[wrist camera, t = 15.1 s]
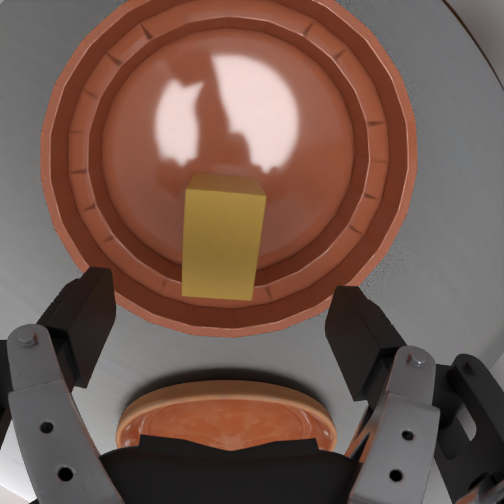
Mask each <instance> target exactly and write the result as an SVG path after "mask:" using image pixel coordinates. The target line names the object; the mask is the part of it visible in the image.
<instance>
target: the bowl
mask: <svg viewBox="0 0 504 504" xmlns="http://www.w3.org/2000/svg"><path fill="white" fill-rule="evenodd" d="M415 121H416V120H415V117H414V113H413V110H412V107H411V103H410V100H409V97H408V94H407V91H406V88H405V85H404V82H403V79H402V77H401V75H400V73H399V71H398V70H397V68H396V67H395V65H394V63H393V62H392V60H391V59H390V57H389V56H388V54H387V53H386V51H385V50H384V48H383V47H382V45H381V44H380V43H379V41H378V40H377V38H376V37H375V36H374V34H372V32H371V31H370V30H369V29H368V28H367V27H366V26H365V25H363V24H362V23H361V22H360V21H359V20H358V19H357V18H355V17H354V16H353V15H352V14H351V13H349V12H348V11H347V10H346V9H345V8H343V7H342V6H341V5H340V4H338V3H337V2H336V1H334V0H128V1H127V2H125V3H124V4H122V5H120V6H119V7H118V8H117V9H116V10H114V11H113V12H112V13H111V14H110V15H109V16H107V17H106V18H105V19H104V20H103V21H102V22H101V23H100V24H98V25H97V26H96V27H95V28H94V29H93V30H92V31H91V32H90V33H89V34H88V35H87V36H86V37H85V38H84V39H83V40H82V41H81V43H80V44H79V46H78V47H77V49H76V50H75V52H74V53H73V55H72V56H71V58H70V59H69V61H68V63H67V64H66V66H65V68H64V69H63V71H62V73H61V74H60V76H59V78H58V80H57V81H56V83H55V85H54V88H53V91H52V94H51V98H50V101H49V104H48V108H47V111H46V115H45V119H44V123H43V127H42V131H41V133H42V134H41V182H42V188H43V191H44V195H45V199H46V202H47V206H48V210H49V213H50V216H51V220H52V223H53V226H54V227H55V231H56V232H57V234H58V236H59V238H60V239H61V241H62V243H63V244H64V246H65V248H66V249H67V251H68V253H69V254H70V256H71V258H72V259H73V261H74V262H75V264H76V266H77V267H79V269H80V270H81V271H82V272H83V273H85V272H86V271H87V269H88V268H89V267H90V266H93V267H103V268H110V269H111V271H112V275H113V285H114V294H115V302H116V303H117V304H118V305H120V306H122V307H123V308H125V309H127V310H128V311H130V312H132V313H134V314H135V315H137V316H139V317H141V318H142V319H144V320H146V321H148V322H149V321H150V323H154V324H157V325H160V326H163V327H166V328H170V329H173V330H176V331H180V332H183V333H187V334H190V335H191V334H192V335H199V336H213V337H231V338H235V337H243V336H249V335H256V334H262V333H268V332H273V331H278V330H282V329H284V328H287V327H289V326H292V325H294V324H297V323H299V322H302V321H304V320H307V319H309V318H311V317H314V316H316V315H318V314H320V313H322V312H323V311H325V310H326V309H328V308H329V307H330V305H331V301H332V298H333V294H334V291H335V289H336V287H337V286H339V285H342V286H359V285H360V284H361V283H362V282H363V281H364V279H365V278H366V277H367V276H368V275H369V274H370V273H371V272H372V270H373V269H374V268H375V267H376V266H377V265H378V263H379V262H380V261H381V260H382V259H383V258H384V256H385V255H386V254H387V252H388V250H389V248H390V247H391V245H392V243H393V241H394V239H395V237H396V235H397V233H398V231H399V229H400V227H401V225H402V223H403V221H404V219H405V217H406V215H407V214H406V213H407V212H408V208H409V204H410V200H411V196H412V192H413V187H414V183H415V178H416V173H417V169H416V168H417V138H416V123H415ZM195 173H209V174H221V175H232V176H242V177H252V178H256V179H257V180H258V182H259V184H260V186H261V187H262V189H263V191H264V193H265V194H266V196H267V198H266V205H265V212H264V219H263V226H262V233H261V240H260V247H259V254H258V261H257V268H256V275H255V282H254V288H253V295H252V300H251V301H247V300H231V299H216V298H202V297H189V296H182V251H183V226H184V207H185V191H186V188H187V186H188V185H189V183H190V181H191V179H192V177H193V176H194V174H195Z"/></svg>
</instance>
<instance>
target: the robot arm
mask: <svg viewBox="0 0 504 504" xmlns="http://www.w3.org/2000/svg"><path fill="white" fill-rule="evenodd" d="M115 317H116V302H115V294H114V285H113V275H112V271H111V269H110V268H103V267H93V266H90V267H89V268H88V269H87V271H86V272H85V273H84V274H83V276H82V277H81V278H80V279H77V278H76V279H75V280H73V281H71V282H70V283H68V284H67V285H65V286H64V288H63V289H62V290H61V291H60V293H59V295H57V297H56V298H55V299H54V302H52V303H51V304H50V306H49V307H48V308H47V310H46V311H45V312H44V314H43V315H42V316H41V318H40V319H39V320H38V322H37V323H36V324H27V325H23V326H20V327H18V328H17V329H15V330H14V331H13V332H12V333H11V334H10V335H9V337H8V339H7V340H0V449H1V446H2V443H3V441H4V438H5V435H6V432H7V430H8V427H9V425H10V422H11V419H12V420H13V424H14V429H15V433H16V436H17V440H18V444H19V447H20V451H21V454H22V457H23V461H24V464H25V467H26V470H27V473H28V475H29V478H30V481H31V484H32V486H33V489H34V491H35V494H36V496H37V499H36V500H34V501H32V502H31V503H29V504H422V502H423V498H424V494H425V491H426V487H427V483H428V479H429V475H430V470H431V465H432V460H433V456H434V458H435V461H436V464H437V466H438V468H439V470H440V473H441V476H442V478H443V481H444V483H445V486H446V488H447V490H448V493H449V496H450V499H451V501H452V504H504V392H503V390H502V389H501V387H500V386H499V385H498V383H497V382H496V380H495V379H494V378H493V376H492V375H491V373H490V372H489V371H488V369H487V368H486V367H485V365H484V364H483V363H482V362H481V361H480V360H479V359H477V358H476V357H474V356H472V355H469V354H460V355H458V356H457V357H456V358H455V360H454V362H453V363H452V365H451V366H448V365H440V364H435V361H434V359H433V357H432V356H431V355H430V354H429V353H428V352H426V351H425V350H423V349H421V348H418V347H415V346H407V344H406V343H405V342H404V340H403V339H402V337H401V336H400V335H399V333H398V332H397V330H396V329H395V328H394V326H393V325H392V324H391V322H390V321H389V319H388V318H387V317H386V315H385V314H384V313H383V311H382V310H381V308H380V307H379V306H377V305H376V304H375V303H373V302H372V301H371V300H369V299H367V298H366V296H365V295H364V294H363V292H362V291H361V290H360V288H359V287H358V286H342V285H339V286H337V287H336V289H335V291H334V294H333V298H332V301H331V305H330V308H329V311H328V315H327V318H326V322H325V334H326V338H327V340H328V342H329V344H330V347H331V349H332V351H333V354H334V356H335V358H336V360H337V363H338V365H339V367H340V370H341V372H342V374H343V377H344V379H345V382H346V384H347V386H348V389H349V391H350V393H351V396H352V398H353V401H362V400H367V401H368V403H369V404H368V406H367V407H366V409H365V411H364V413H363V416H362V418H361V421H360V423H359V425H358V428H357V430H356V432H355V434H354V437H353V439H352V441H351V443H350V445H349V447H348V449H347V451H346V453H345V455H342V454H339V453H335V452H332V451H327V450H321V449H319V448H318V444H317V440H316V438H310V439H299V440H284V441H273V442H269V443H265V444H261V445H257V446H253V447H248V448H244V449H239V450H234V451H227V450H223V449H218V448H214V447H210V446H207V445H203V444H199V443H196V442H192V441H189V440H185V439H178V438H168V437H160V436H152V435H145V434H140V440H139V445H136V446H129V447H123V448H119V449H115V450H112V451H110V452H107V453H105V454H103V455H100V453H99V452H98V450H97V448H96V446H95V444H94V442H93V440H92V438H91V436H90V434H89V432H88V430H87V428H86V426H85V424H84V422H83V420H82V417H81V415H80V413H79V411H78V408H77V406H76V404H75V401H74V399H73V396H72V394H71V392H72V390H73V388H74V386H77V387H81V388H87V385H88V383H89V380H90V378H91V375H92V373H93V370H94V368H95V366H96V363H97V361H98V358H99V356H100V354H101V351H102V349H103V347H104V344H105V342H106V340H107V338H108V335H109V333H110V331H111V329H112V326H113V324H114V322H115ZM465 407H466V408H467V410H468V411H469V413H470V415H471V416H472V418H473V420H474V422H475V424H476V428H477V430H476V435H475V437H474V438H473V439H472V441H471V442H470V440H469V438H468V437H467V434H466V433H465V431H464V429H463V427H462V425H461V423H460V421H459V420H458V418H457V417H458V416H459V414H460V413H461V412H462V410H463V409H464V408H465Z"/></svg>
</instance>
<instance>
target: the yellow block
mask: <svg viewBox="0 0 504 504" xmlns="http://www.w3.org/2000/svg"><path fill="white" fill-rule="evenodd" d="M266 198H267V196H266V194H265V193H264V191H263V189H262V187H261V186H260V184H259V182H258V180H257V179H256V178H252V177H242V176H232V175H221V174H209V173H195V174H194V176H193V177H192V179H191V181H190V183H189V185H188V186H187V188H186V191H185V207H184V226H183V251H182V296H189V297H202V298H216V299H231V300H247V301H251V300H252V295H253V288H254V282H255V275H256V268H257V261H258V254H259V247H260V240H261V233H262V226H263V219H264V212H265V205H266Z"/></svg>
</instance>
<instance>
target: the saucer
mask: <svg viewBox="0 0 504 504" xmlns="http://www.w3.org/2000/svg"><path fill="white" fill-rule="evenodd" d="M140 434H145V435H152V436H160V437H168V438H178V439H185V440H189V441H192V442H196V443H199V444H203V445H207V446H210V447H214V448H218V449H223V450H227V451H234V450H239V449H244V448H248V447H253V446H257V445H261V444H265V443H269V442H273V441H284V440H299V439H310V438H316V440H317V444H318V448H319V449H321V450H327V451H332V452H333V450H334V448H335V446H336V442H337V432H336V428H335V425H334V423H333V421H332V418H331V416H330V414H329V413H328V411H327V410H326V409H325V408H324V407H323V406H322V405H321V404H320V403H319V402H318V401H316V400H315V399H313V398H311V397H310V396H308V395H306V394H304V393H301V392H299V391H296V390H293V389H290V388H287V387H283V386H279V385H274V384H269V383H263V382H255V381H242V380H210V381H198V382H189V383H183V384H177V385H173V386H168V387H164V388H161V389H158V390H155V391H152V392H150V393H148V394H146V395H144V396H142V397H140V398H138V399H137V400H135V401H134V402H133V403H131V404H130V405H129V406H128V407H127V408H126V409H125V411H124V412H123V414H122V415H121V418H120V421H119V424H118V427H117V431H116V444H117V447H118V449H119V448H123V447H129V446H136V445H139V440H140Z"/></svg>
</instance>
